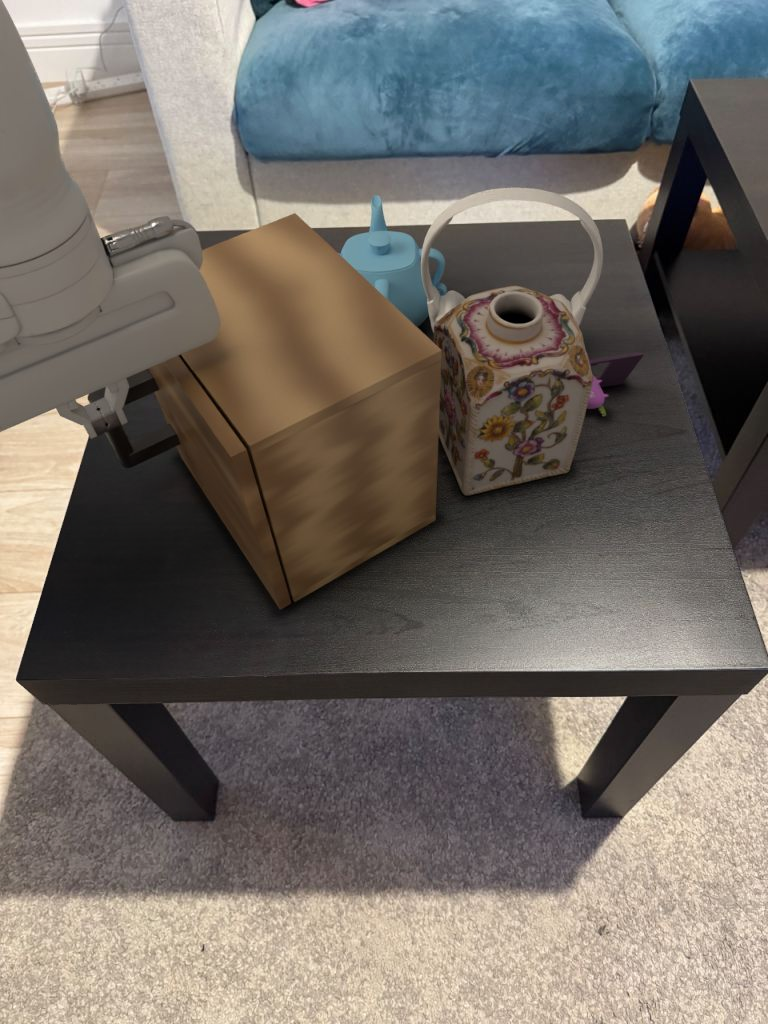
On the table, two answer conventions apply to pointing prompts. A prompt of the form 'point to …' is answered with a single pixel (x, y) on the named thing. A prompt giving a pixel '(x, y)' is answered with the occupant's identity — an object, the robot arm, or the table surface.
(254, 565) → the door
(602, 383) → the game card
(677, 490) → the table surface
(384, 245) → the teapot
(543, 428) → the decorative jar
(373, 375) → the cupboard
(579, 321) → the headphones
